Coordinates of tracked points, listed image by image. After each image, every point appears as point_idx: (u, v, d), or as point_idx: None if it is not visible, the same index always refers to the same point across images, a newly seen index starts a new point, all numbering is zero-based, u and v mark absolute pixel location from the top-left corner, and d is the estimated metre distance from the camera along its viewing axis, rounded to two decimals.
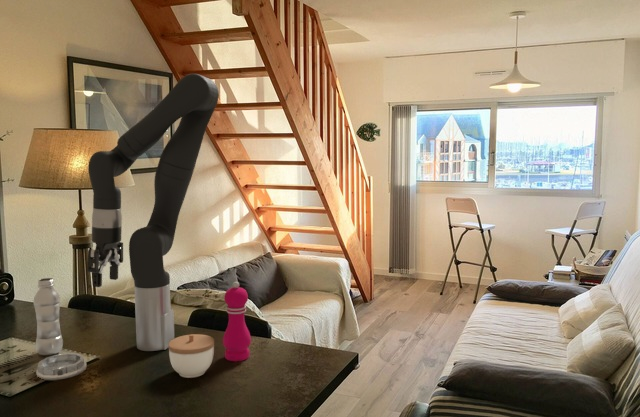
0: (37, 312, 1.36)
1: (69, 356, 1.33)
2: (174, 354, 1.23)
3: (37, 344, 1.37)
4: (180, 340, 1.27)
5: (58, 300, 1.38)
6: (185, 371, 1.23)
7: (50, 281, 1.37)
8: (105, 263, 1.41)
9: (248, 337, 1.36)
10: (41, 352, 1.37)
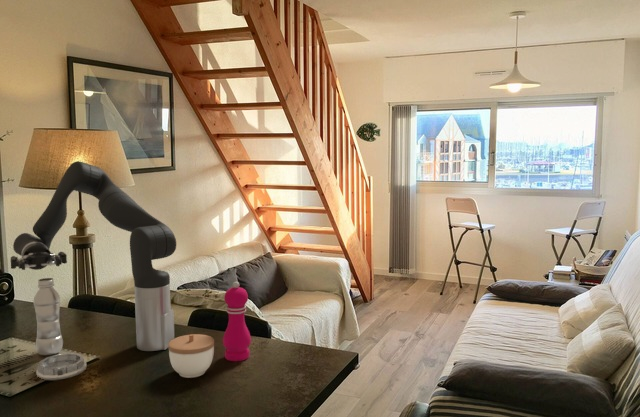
0: (37, 312, 1.36)
1: (69, 356, 1.33)
2: (174, 354, 1.23)
3: (37, 344, 1.37)
4: (180, 340, 1.27)
5: (58, 300, 1.38)
6: (185, 371, 1.23)
7: (50, 281, 1.37)
8: (25, 256, 1.50)
9: (248, 337, 1.36)
10: (41, 352, 1.37)
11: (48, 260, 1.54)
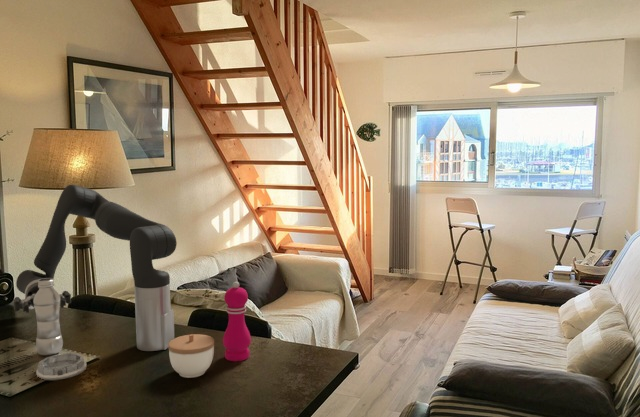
0: (37, 312, 1.36)
1: (69, 356, 1.33)
2: (174, 354, 1.23)
3: (37, 344, 1.37)
4: (180, 340, 1.27)
5: (58, 300, 1.38)
6: (185, 371, 1.23)
7: (50, 281, 1.37)
8: (29, 297, 1.48)
9: (248, 337, 1.36)
10: (41, 352, 1.37)
11: None
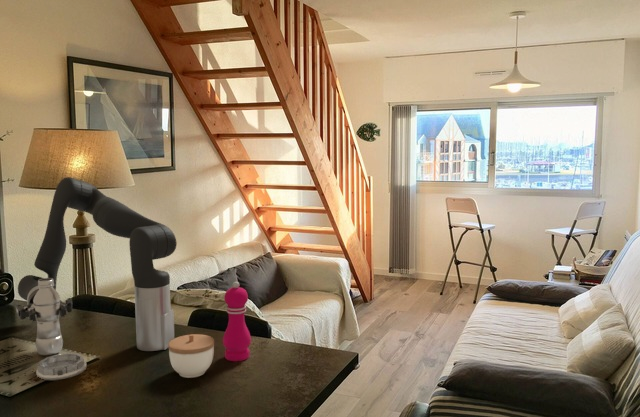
0: (37, 312, 1.36)
1: (69, 356, 1.33)
2: (174, 354, 1.23)
3: (37, 344, 1.37)
4: (180, 340, 1.27)
5: (58, 300, 1.38)
6: (185, 371, 1.23)
7: (50, 281, 1.37)
8: None
9: (248, 337, 1.36)
10: (41, 352, 1.37)
11: None
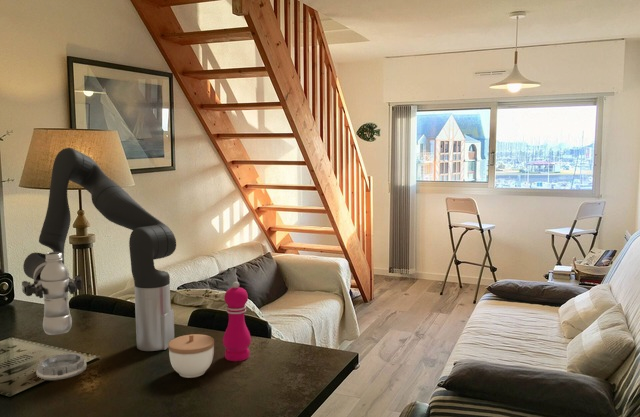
0: (44, 288, 1.26)
1: (69, 356, 1.33)
2: (174, 354, 1.23)
3: (44, 323, 1.27)
4: (180, 340, 1.27)
5: (67, 276, 1.28)
6: (185, 371, 1.23)
7: (58, 255, 1.27)
8: None
9: (248, 337, 1.36)
10: (49, 331, 1.26)
11: None
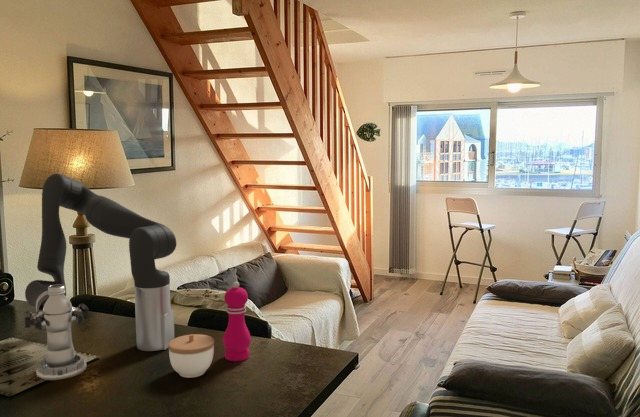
0: (47, 322, 1.25)
1: None
2: (174, 354, 1.23)
3: (47, 357, 1.26)
4: (180, 340, 1.27)
5: (70, 308, 1.27)
6: (185, 371, 1.23)
7: (61, 288, 1.26)
8: (41, 311, 1.29)
9: (248, 337, 1.36)
10: (52, 365, 1.26)
11: None
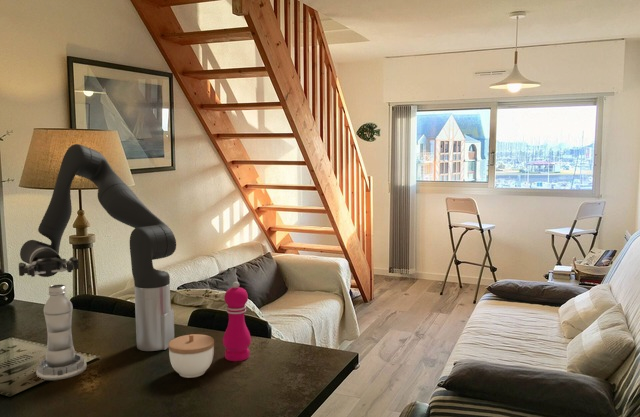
0: (48, 322, 1.25)
1: None
2: (174, 354, 1.23)
3: (47, 356, 1.26)
4: (180, 340, 1.27)
5: (70, 309, 1.27)
6: (185, 371, 1.23)
7: (62, 288, 1.26)
8: (34, 262, 1.39)
9: (248, 337, 1.36)
10: (52, 365, 1.26)
11: (59, 266, 1.43)
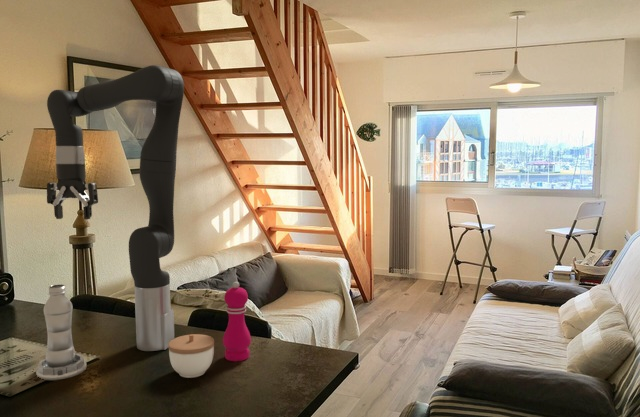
0: (48, 322, 1.25)
1: None
2: (174, 354, 1.23)
3: (47, 356, 1.26)
4: (180, 340, 1.27)
5: (70, 309, 1.27)
6: (185, 371, 1.23)
7: (62, 288, 1.26)
8: (57, 197, 1.50)
9: (248, 337, 1.36)
10: (52, 365, 1.26)
11: (80, 195, 1.51)
